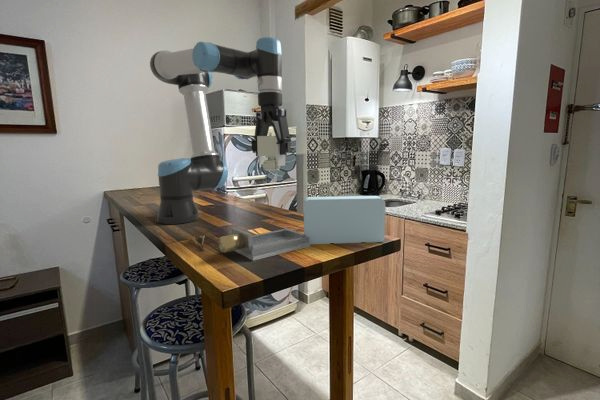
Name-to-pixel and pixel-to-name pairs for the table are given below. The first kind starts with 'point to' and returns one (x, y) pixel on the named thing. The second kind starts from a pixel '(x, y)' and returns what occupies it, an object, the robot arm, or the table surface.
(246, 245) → the cradle
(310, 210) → the pale blue rectangular block
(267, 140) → the pneumatic valve
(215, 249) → the table surface
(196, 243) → the tongs
